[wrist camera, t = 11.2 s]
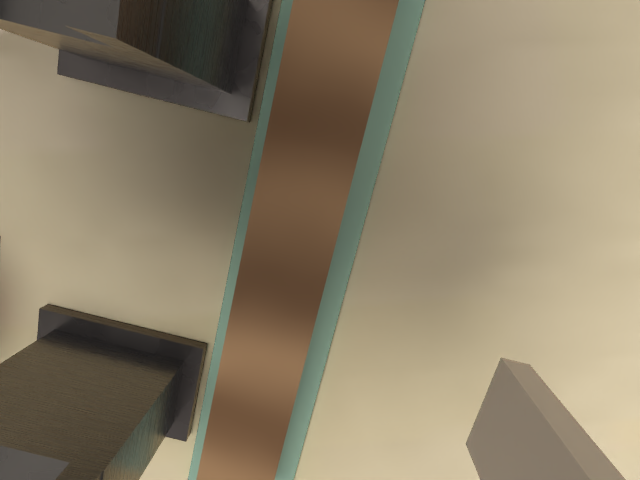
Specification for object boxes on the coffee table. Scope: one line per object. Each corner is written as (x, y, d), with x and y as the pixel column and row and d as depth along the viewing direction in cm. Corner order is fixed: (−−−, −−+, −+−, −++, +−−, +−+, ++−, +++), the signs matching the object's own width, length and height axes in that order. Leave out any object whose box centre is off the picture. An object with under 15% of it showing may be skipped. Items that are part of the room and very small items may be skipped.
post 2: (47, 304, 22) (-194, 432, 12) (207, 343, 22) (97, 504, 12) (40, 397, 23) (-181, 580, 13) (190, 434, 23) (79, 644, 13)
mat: (302, -91, 17) (301, -98, 16) (439, -56, 17) (442, -62, 16) (190, 477, 24) (187, 484, 23) (286, 501, 24) (285, 508, 23)
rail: (317, -34, 17) (310, -89, 13) (397, -14, 17) (415, -62, 13) (213, 463, 23) (186, 528, 19) (271, 477, 23) (257, 545, 19)
